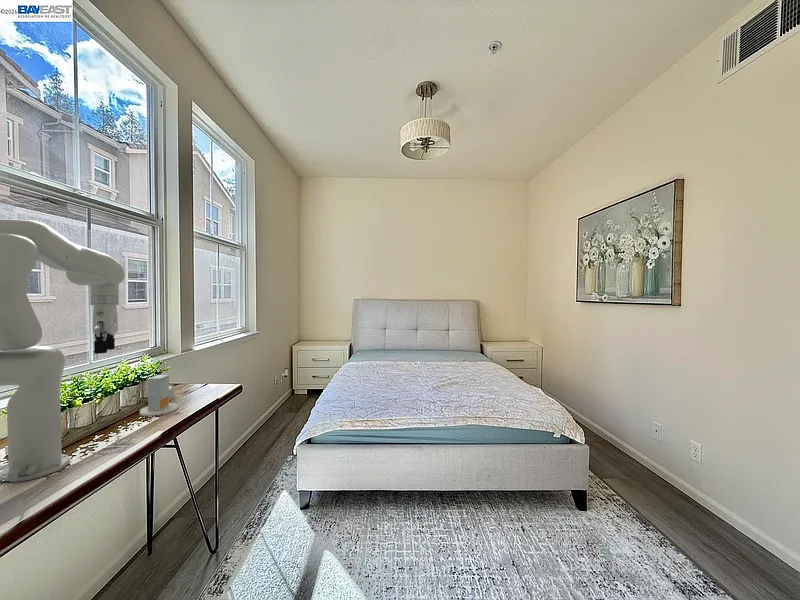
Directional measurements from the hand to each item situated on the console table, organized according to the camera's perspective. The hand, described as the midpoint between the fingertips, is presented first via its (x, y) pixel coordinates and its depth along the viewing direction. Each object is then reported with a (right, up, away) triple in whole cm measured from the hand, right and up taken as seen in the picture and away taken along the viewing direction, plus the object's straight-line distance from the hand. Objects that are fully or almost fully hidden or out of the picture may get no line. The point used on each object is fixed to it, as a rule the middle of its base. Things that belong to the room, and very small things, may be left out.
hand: (104, 351), depth 122 cm
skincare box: (+9, -24, +13) cm, 29 cm away
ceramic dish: (+9, -24, +14) cm, 30 cm away
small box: (+1, -24, +26) cm, 36 cm away
